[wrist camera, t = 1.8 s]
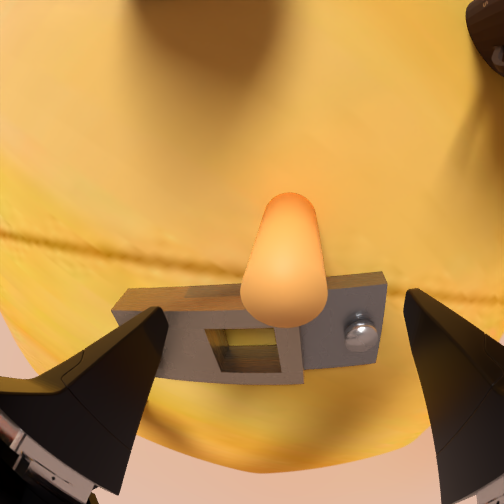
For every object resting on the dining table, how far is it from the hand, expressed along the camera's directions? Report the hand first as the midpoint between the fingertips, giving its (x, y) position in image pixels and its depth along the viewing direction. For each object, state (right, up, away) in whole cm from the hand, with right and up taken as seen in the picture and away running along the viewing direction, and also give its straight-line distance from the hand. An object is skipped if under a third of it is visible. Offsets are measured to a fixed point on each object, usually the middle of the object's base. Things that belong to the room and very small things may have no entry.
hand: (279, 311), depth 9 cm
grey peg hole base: (+2, -3, +12) cm, 12 cm away
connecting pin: (+1, +4, +8) cm, 9 cm away
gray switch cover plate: (-4, -4, +13) cm, 14 cm away
